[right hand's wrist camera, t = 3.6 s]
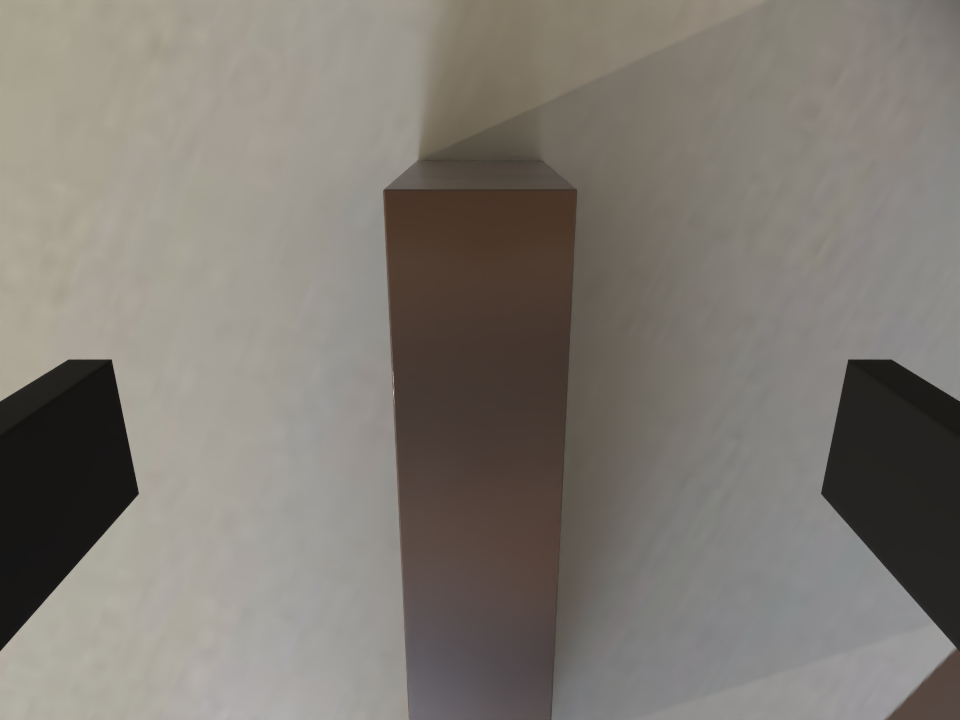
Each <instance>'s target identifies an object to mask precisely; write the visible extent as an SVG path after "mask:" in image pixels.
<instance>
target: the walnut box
mask: <svg viewBox="0 0 960 720" xmlns="http://www.w3.org/2000/svg"><path fill="white" fill-rule="evenodd" d="M383 197H384V217H385V238H386V258H387V279H388V299H389V320H390V340H391V361H392V381H393V402H394V422H395V443H396V463H397V484H398V504H399V525H400V545H401V566H402V586H403V607H404V627H405V648H406V668H407V689H408V709H409V720H551V713H552V693H553V672H554V652H555V632H556V611H557V591H558V570H559V550H560V529H561V509H562V489H563V468H564V448H565V427H566V407H567V386H568V366H569V346H570V325H571V305H572V284H573V264H574V243H575V223H576V203H577V190H576V189H575V188H574V187H573V186H571V185H570V184H569V183H568V182H567V181H566V180H564V179H563V178H562V177H561V176H560V175H559V174H557V173H556V172H555V171H554V170H553V169H552V168H551V167H549V166H548V165H547V164H546V163H545V162H544V161H417V162H416V163H414V164H413V165H412V166H411V167H410V168H409V169H407V170H406V171H405V172H404V173H403V174H402V175H400V176H399V177H398V178H397V179H396V180H395V181H393V182H392V183H391V184H390V185H389V186H388V187H387V188H385V189H384V191H383Z"/></svg>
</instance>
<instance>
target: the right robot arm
mask: <svg viewBox="0 0 960 720" xmlns="http://www.w3.org/2000/svg"><path fill="white" fill-rule="evenodd" d="M138 494H139V492H138V487H137V482H136V477H135V472H134V467H133V462H132V457H131V452H130V448H129V443H128V438H127V433H126V428H125V423H124V418H123V413H122V408H121V403H120V398H119V393H118V388H117V384H116V379H115V374H114V369H113V364H112V360H67V361H66V362H64V363H62V364H61V365H59V366H57V367H56V368H54V369H53V370H51V371H49V372H48V373H46V374H44V375H43V376H41V377H40V378H38V379H36V380H35V381H33V382H31V383H30V384H28V385H26V386H25V387H23V388H22V389H20V390H18V391H17V392H15V393H13V394H12V395H10V396H9V397H7V398H5V399H4V400H2V401H0V651H1V650H2V649H3V647H4V646H5V645H6V644H7V643H8V642H9V641H10V640H11V638H12V637H13V636H14V635H15V634H16V633H17V632H18V630H19V629H20V628H21V627H22V626H23V625H24V624H25V623H26V621H27V620H28V619H29V618H30V617H31V616H32V615H33V613H34V612H35V611H36V610H37V609H38V608H39V607H40V606H41V604H42V603H43V602H44V601H45V600H46V599H47V598H48V596H49V595H50V594H51V593H52V592H53V591H54V590H55V588H56V587H57V586H58V585H59V584H60V583H61V582H62V581H63V579H64V578H65V577H66V576H67V575H68V574H69V573H70V571H71V570H72V569H73V568H74V567H75V566H76V565H77V564H78V562H79V561H80V560H81V559H82V558H83V557H84V556H85V554H86V553H87V552H88V551H89V550H90V549H91V548H92V547H93V545H94V544H95V543H96V542H97V541H98V540H99V539H100V537H101V536H102V535H103V534H104V533H105V532H106V531H107V529H108V528H109V527H110V526H111V525H112V524H113V523H114V522H115V520H116V519H117V518H118V517H119V516H120V515H121V514H122V512H123V511H124V510H125V509H126V508H127V507H128V506H129V505H130V503H131V502H132V501H133V500H134V499H135V498H136V497H137V495H138ZM821 494H822V495H823V497H824V498H825V499H826V500H827V501H828V502H829V503H830V505H831V506H832V507H833V508H834V509H835V510H836V511H837V512H838V514H839V515H840V516H841V517H842V518H843V519H844V520H845V522H846V523H847V524H848V525H849V526H850V527H851V528H852V529H853V531H854V532H855V533H856V534H857V535H858V536H859V537H860V539H861V540H862V541H863V542H864V543H865V544H866V545H867V547H868V548H869V549H870V550H871V551H872V552H873V553H874V554H875V556H876V557H877V558H878V559H879V560H880V561H881V562H882V564H883V565H884V566H885V567H886V568H887V569H888V570H889V571H890V573H891V574H892V575H893V576H894V577H895V578H896V579H897V581H898V582H899V583H900V584H901V585H902V586H903V587H904V588H905V590H906V591H907V592H908V593H909V594H910V595H911V596H912V598H913V599H914V600H915V601H916V602H917V603H918V604H919V606H920V607H921V608H922V609H923V610H924V611H925V612H926V613H927V615H928V616H929V617H930V618H931V619H932V620H933V621H934V623H935V624H936V625H937V626H938V627H939V628H940V629H941V630H942V632H943V633H944V634H945V635H946V636H947V637H948V638H949V640H950V641H951V642H952V643H953V644H954V645H955V646H956V647H957V649H958V650H959V651H960V401H958V400H956V399H955V398H953V397H951V396H950V395H948V394H947V393H945V392H943V391H942V390H940V389H938V388H937V387H935V386H934V385H932V384H930V383H929V382H927V381H925V380H924V379H922V378H920V377H919V376H917V375H916V374H914V373H912V372H911V371H909V370H907V369H906V368H904V367H903V366H901V365H899V364H898V363H896V362H894V361H893V360H848V364H847V369H846V374H845V379H844V384H843V388H842V393H841V398H840V403H839V408H838V413H837V418H836V423H835V428H834V433H833V438H832V443H831V448H830V452H829V457H828V462H827V467H826V472H825V477H824V482H823V487H822V492H821Z"/></svg>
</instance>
